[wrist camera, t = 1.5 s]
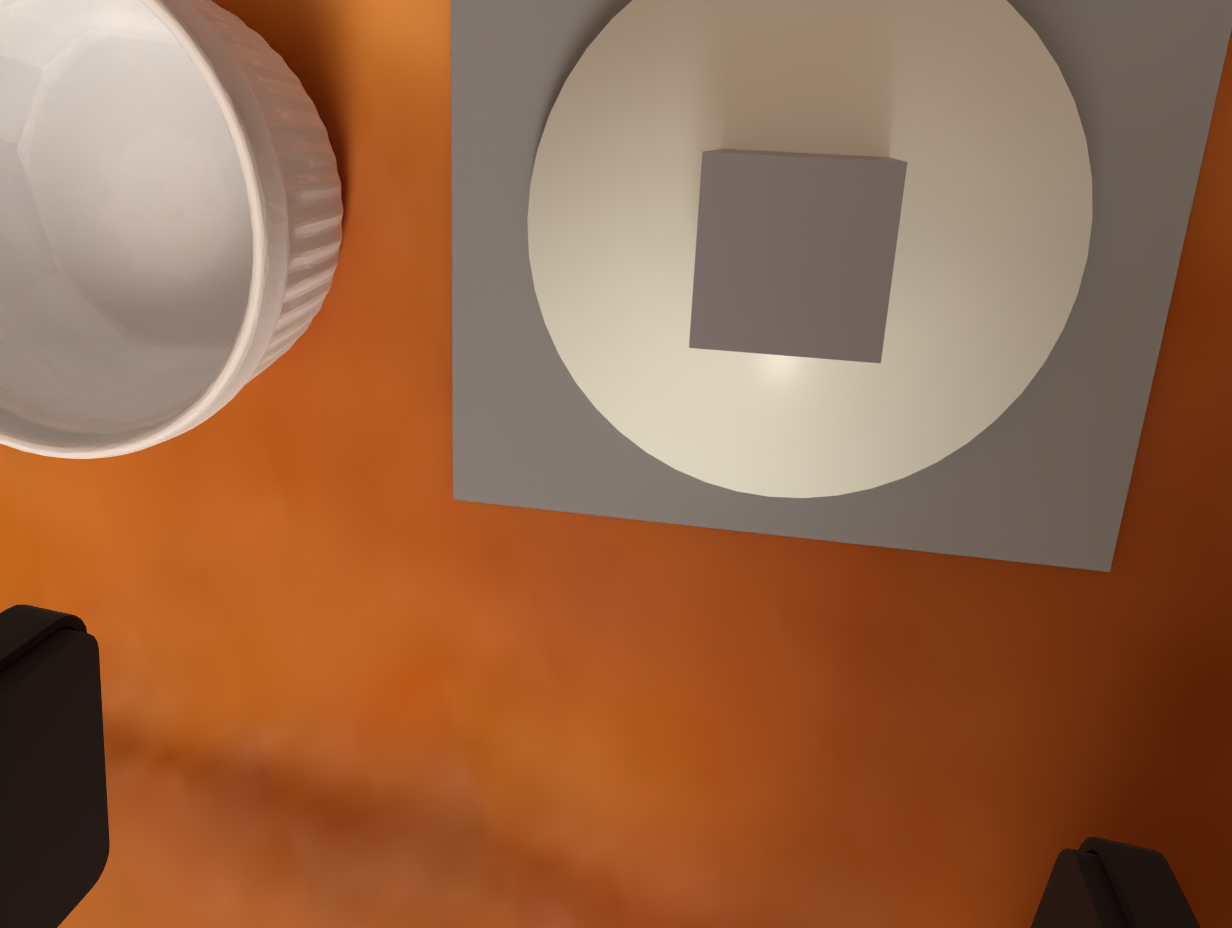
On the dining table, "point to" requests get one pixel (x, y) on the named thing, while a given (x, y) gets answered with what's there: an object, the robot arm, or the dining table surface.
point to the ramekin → (150, 219)
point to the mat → (926, 500)
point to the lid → (809, 232)
